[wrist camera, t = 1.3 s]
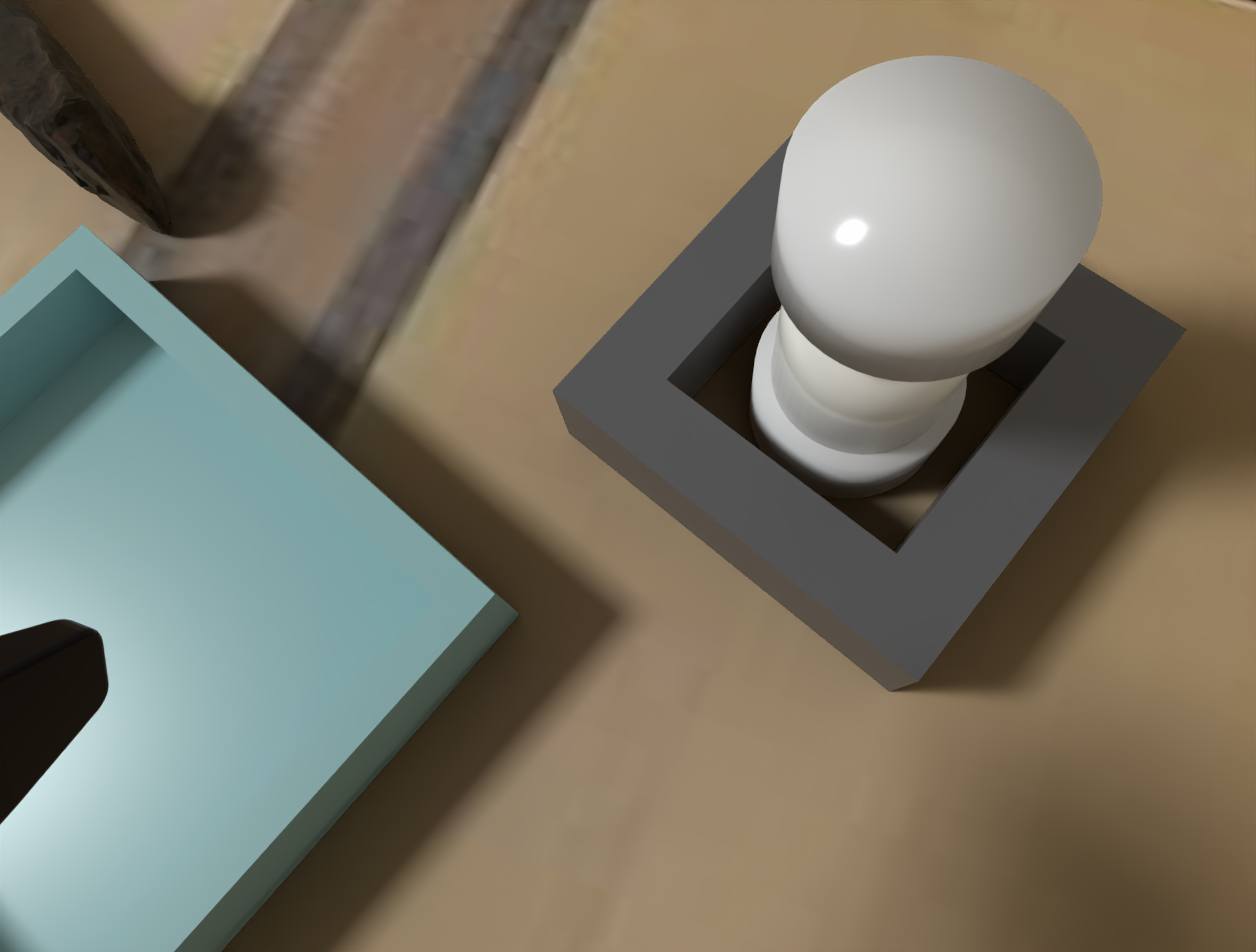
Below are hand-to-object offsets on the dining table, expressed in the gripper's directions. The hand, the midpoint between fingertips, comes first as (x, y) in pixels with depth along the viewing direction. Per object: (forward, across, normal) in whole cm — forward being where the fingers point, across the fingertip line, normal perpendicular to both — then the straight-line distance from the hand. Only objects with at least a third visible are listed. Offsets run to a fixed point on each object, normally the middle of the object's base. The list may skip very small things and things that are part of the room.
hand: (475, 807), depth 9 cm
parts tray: (+8, +14, +10) cm, 19 cm away
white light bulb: (+18, -3, +2) cm, 18 cm away
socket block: (+18, -3, +2) cm, 18 cm away
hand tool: (+21, +27, -1) cm, 34 cm away
